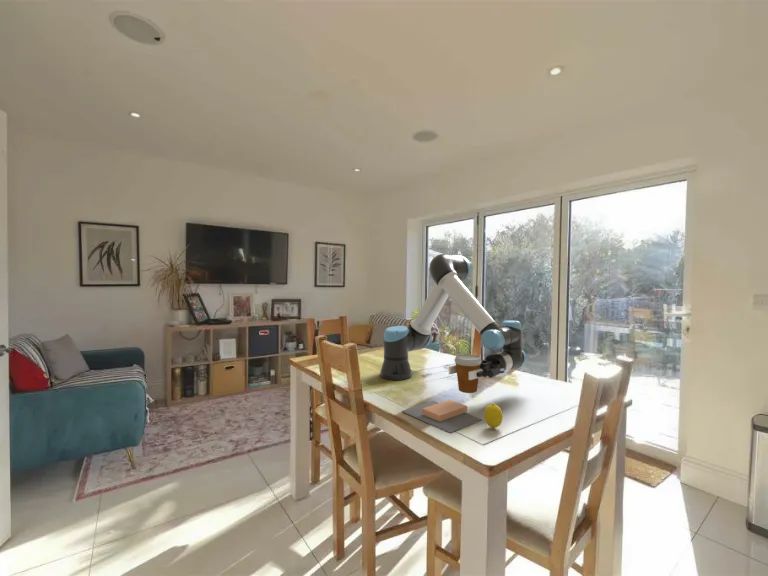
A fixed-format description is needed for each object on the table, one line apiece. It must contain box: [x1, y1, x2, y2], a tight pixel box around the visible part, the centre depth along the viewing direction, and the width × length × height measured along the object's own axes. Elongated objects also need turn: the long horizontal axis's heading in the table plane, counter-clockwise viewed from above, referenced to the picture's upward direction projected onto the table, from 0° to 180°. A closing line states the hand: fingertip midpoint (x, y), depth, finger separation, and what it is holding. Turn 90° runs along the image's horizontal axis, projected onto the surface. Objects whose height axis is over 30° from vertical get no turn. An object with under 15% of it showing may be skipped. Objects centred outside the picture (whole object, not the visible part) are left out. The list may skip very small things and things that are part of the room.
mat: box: [402, 400, 483, 434], centre depth 121 cm, size 22×16×1 cm
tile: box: [422, 399, 468, 422], centre depth 123 cm, size 8×2×14 cm
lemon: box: [483, 402, 504, 430], centre depth 111 cm, size 6×6×8 cm
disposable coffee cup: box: [453, 354, 482, 394], centre depth 126 cm, size 10×10×12 cm
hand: (459, 373), depth 124 cm, fingers closed on disposable coffee cup, 8 cm apart
